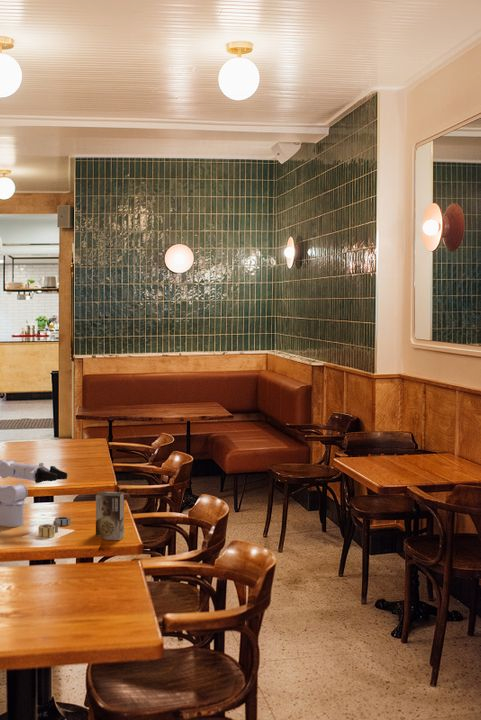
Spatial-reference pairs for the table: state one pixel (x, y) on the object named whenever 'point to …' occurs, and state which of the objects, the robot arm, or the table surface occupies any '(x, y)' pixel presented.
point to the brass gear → (46, 531)
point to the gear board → (58, 533)
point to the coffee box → (110, 515)
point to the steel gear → (63, 521)
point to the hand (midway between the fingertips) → (61, 476)
